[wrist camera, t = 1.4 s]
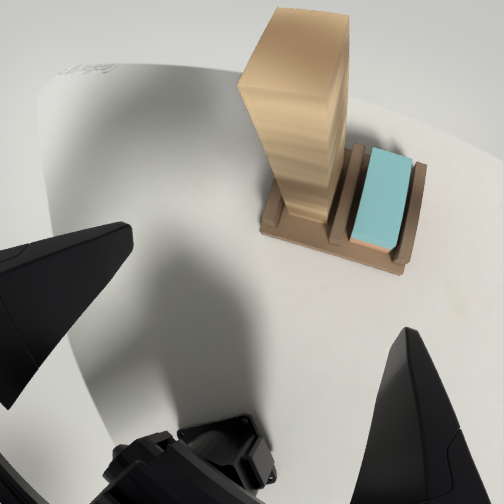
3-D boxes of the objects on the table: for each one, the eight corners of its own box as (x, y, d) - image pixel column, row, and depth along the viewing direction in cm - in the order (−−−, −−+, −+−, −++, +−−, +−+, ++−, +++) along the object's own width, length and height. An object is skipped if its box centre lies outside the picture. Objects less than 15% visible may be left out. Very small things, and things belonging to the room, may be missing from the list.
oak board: (327, 224, 22) (325, 98, 8) (289, 214, 22) (236, 85, 9) (342, 168, 22) (349, 15, 9) (306, 159, 23) (276, 7, 9)
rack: (399, 275, 21) (410, 270, 18) (261, 234, 24) (253, 223, 21) (419, 176, 22) (430, 159, 19) (292, 142, 24) (288, 122, 21)
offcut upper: (391, 249, 19) (396, 245, 17) (350, 237, 20) (352, 231, 18) (407, 168, 19) (412, 158, 18) (370, 157, 20) (372, 147, 19)
